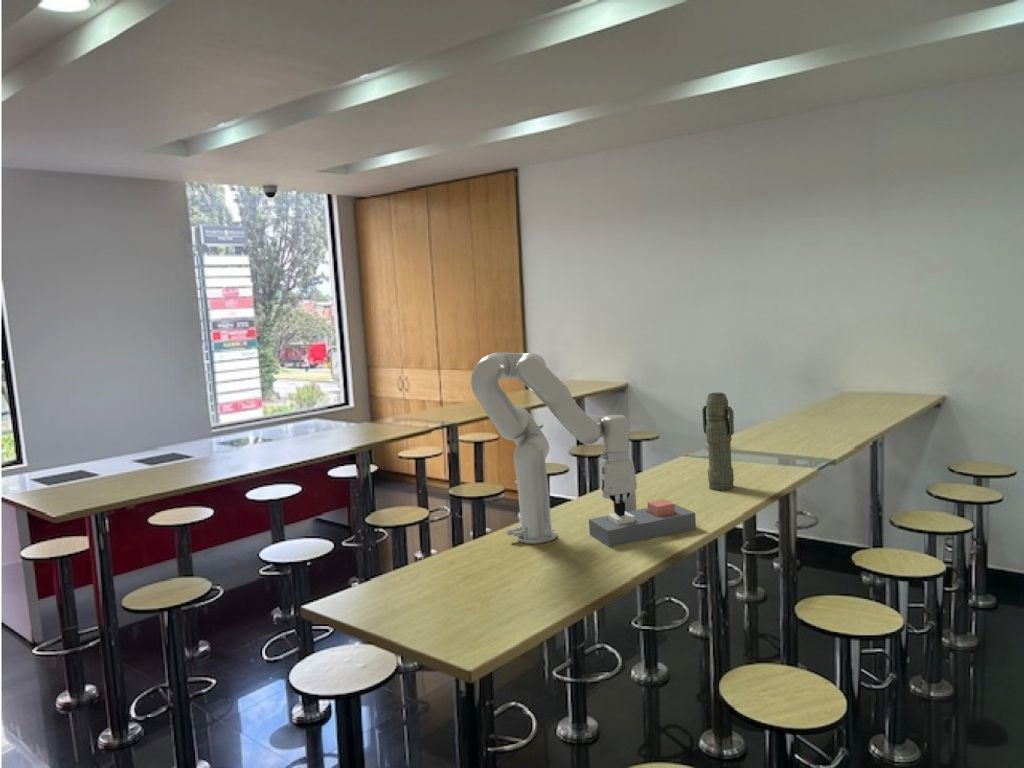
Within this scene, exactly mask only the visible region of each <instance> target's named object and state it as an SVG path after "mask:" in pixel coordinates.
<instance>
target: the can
mask: <svg viewBox="0 0 1024 768" xmlns="http://www.w3.org/2000/svg"><path fill="white" fill-rule="evenodd" d="M618 495H619V494H618ZM612 502H613V501H612ZM613 506H614V502H613ZM634 510H638V509H637V496H636V492H635V493H634V494H632V495H629V497H628V498H627V501H626V502H625V511H626V512H629V511H634ZM614 513H615V512H614V511H613V514H614Z"/></svg>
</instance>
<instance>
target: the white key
mask: <svg viewBox="0 0 1024 768" xmlns="http://www.w3.org/2000/svg"><path fill="white" fill-rule="evenodd" d="M607 516H608V521H610V522H612V523H614V524H615V525H621V524H626V523H631V522H635V516H634V515H632V514H630V513H628V512H626V511H625V515H622V516H619V515H617V514H616V513H614V512H613V513H609V514H607Z"/></svg>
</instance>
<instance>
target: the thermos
mask: <svg viewBox="0 0 1024 768" xmlns="http://www.w3.org/2000/svg"><path fill="white" fill-rule="evenodd" d="M705 403H706V404H705V405H704V406H703V408H702V411H701V413H702V414H701V415H702V427H703V428H702V429H703V434H705V436H706V439H705V440H706V443H707V452H708V468H707V476H708V477H707V480H708V485H709V486H708V488H709V489H710V490H711V491H716V492H717V491H718V492H724V491H731V490H734V488H735V486H734V482H735V481H734V480H735V479H734V478H735V477H734V468H733V466H732V452H731V450H732V449H731V448H732V447H731V446H732V445H731V442H732V440H733V439H732V436H733V434H735V428H734V427H735V426H734V425H735V423H734V419H735V418H734V417H735V416H734V410H733V408H732V407H731V406H729V400H728V398H727V395H726V393H723V392H711V393H709V394H708V395H707V398H706V402H705Z"/></svg>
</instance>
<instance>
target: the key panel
mask: <svg viewBox="0 0 1024 768" xmlns="http://www.w3.org/2000/svg"><path fill="white" fill-rule="evenodd" d="M674 506H675V514H670V515H665V516H660V517H656V516H654V515H652V514H650V513H648V507H645V508H640V509H637V510H634V511H629V512H628V513H630V514H632V515H634V516H635V522H631V523H626V524H621V525H615V524H614V523H612V522H610V521H608V515H604V516H599V517H593V518H589V519H588V526H589V527H588V528H589V536H591V537H592V538H594V539H596V540H597V541H599V542H600V543H602V544H603V545H605V546H606V547H608V548H611V547H616V546H621V545H626V544H630V543H635V542H640V541H645V540H649V539H654V538H659V537H664V536H668V535H672V534H677V533H682V532H683V533H684V532H688V531H691V530H695V529H697V524H696V520H697V519H696V512H695V511H691V510H689V509H686V508H685V507H683V506H680V505H678V504H676V503H674Z"/></svg>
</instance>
